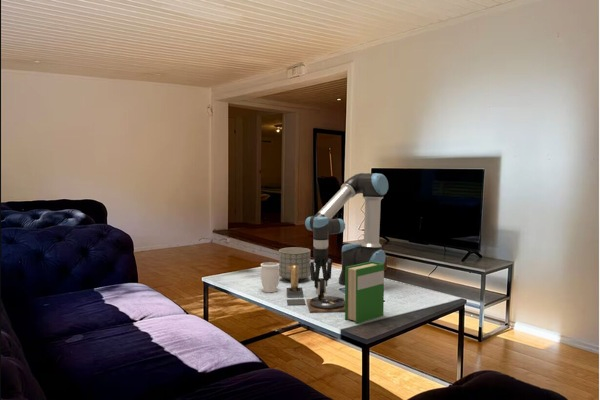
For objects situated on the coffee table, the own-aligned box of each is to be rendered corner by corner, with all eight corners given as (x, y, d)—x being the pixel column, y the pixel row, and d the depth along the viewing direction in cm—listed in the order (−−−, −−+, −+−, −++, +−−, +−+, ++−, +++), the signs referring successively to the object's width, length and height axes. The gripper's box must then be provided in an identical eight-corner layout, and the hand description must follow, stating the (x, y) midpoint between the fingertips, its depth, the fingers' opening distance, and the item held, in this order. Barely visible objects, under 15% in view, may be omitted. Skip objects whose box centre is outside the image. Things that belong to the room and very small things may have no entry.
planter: (308, 284, 260) (308, 253, 259) (276, 283, 263) (276, 252, 262) (312, 276, 279) (312, 247, 277) (282, 275, 282) (282, 247, 280)
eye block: (301, 292, 242) (301, 287, 242) (303, 297, 234) (303, 291, 234) (286, 293, 242) (286, 287, 242) (287, 297, 233) (287, 292, 233)
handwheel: (351, 306, 215) (351, 284, 214) (319, 310, 208) (319, 288, 207) (334, 296, 230) (334, 276, 229) (304, 301, 223) (304, 280, 222)
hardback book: (357, 323, 194) (357, 269, 192) (345, 319, 200) (345, 266, 198) (383, 315, 205) (384, 263, 204) (371, 311, 211) (371, 261, 209)
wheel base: (343, 300, 229) (343, 298, 229) (350, 311, 210) (350, 309, 210) (306, 300, 228) (306, 298, 228) (309, 312, 209) (309, 310, 209)
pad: (304, 299, 230) (304, 298, 230) (305, 305, 221) (305, 304, 221) (286, 300, 229) (286, 299, 229) (287, 305, 220) (287, 304, 220)
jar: (276, 293, 241) (276, 266, 240) (258, 292, 243) (258, 265, 242) (281, 288, 251) (281, 262, 250) (263, 287, 253) (263, 261, 252)
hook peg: (298, 294, 240) (298, 264, 239) (298, 296, 236) (298, 266, 235) (286, 294, 240) (286, 265, 238) (286, 296, 236) (286, 266, 235)
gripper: (330, 245, 230) (330, 289, 232) (303, 248, 223) (303, 294, 224) (338, 247, 224) (338, 293, 226) (310, 250, 216) (311, 297, 218)
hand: (320, 293), depth 225 cm, fingers closed on handwheel, 3 cm apart
